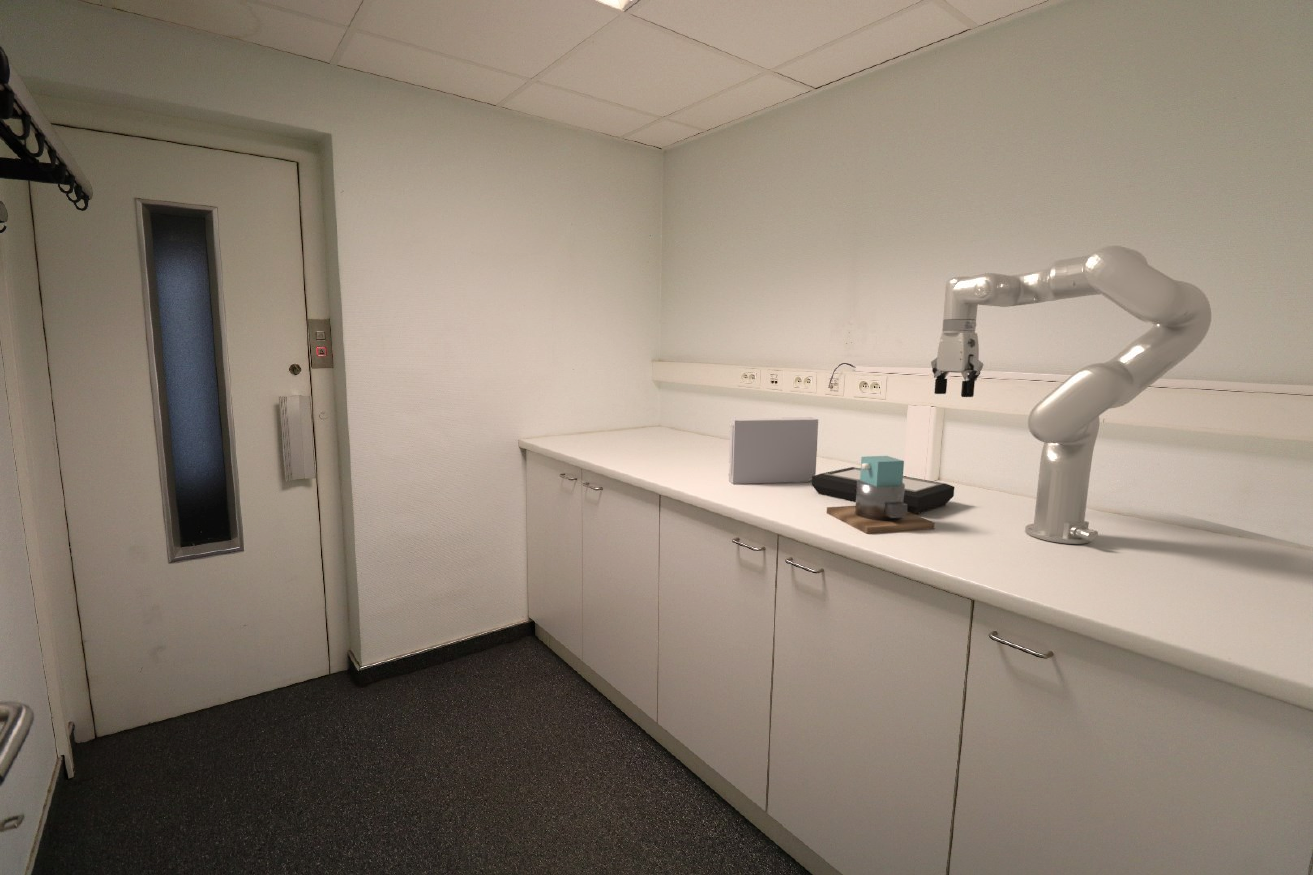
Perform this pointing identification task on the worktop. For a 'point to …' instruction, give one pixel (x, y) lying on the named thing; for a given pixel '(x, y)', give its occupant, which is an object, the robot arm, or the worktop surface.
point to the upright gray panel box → (772, 450)
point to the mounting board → (877, 526)
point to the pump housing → (882, 471)
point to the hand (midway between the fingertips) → (953, 395)
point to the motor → (880, 502)
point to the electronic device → (916, 492)
